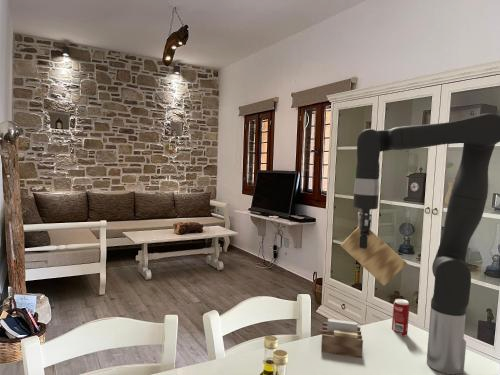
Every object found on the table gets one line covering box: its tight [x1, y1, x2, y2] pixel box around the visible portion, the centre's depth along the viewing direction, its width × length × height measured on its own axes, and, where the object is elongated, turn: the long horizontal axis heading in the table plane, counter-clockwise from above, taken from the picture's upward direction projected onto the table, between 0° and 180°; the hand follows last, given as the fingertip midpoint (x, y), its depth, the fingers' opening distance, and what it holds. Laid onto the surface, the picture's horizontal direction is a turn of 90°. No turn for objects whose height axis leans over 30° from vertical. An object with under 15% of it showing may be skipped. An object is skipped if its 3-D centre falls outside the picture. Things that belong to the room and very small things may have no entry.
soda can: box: [391, 298, 410, 338], centre depth 133 cm, size 5×5×12 cm
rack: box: [320, 321, 364, 359], centre depth 118 cm, size 12×11×6 cm
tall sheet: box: [340, 225, 408, 286], centre depth 118 cm, size 10×2×18 cm
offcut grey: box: [327, 318, 358, 333], centre depth 118 cm, size 9×2×8 cm, turn 78°
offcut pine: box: [334, 330, 358, 339], centre depth 115 cm, size 7×2×6 cm, turn 78°
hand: (362, 247), depth 119 cm, fingers closed on tall sheet, 2 cm apart
